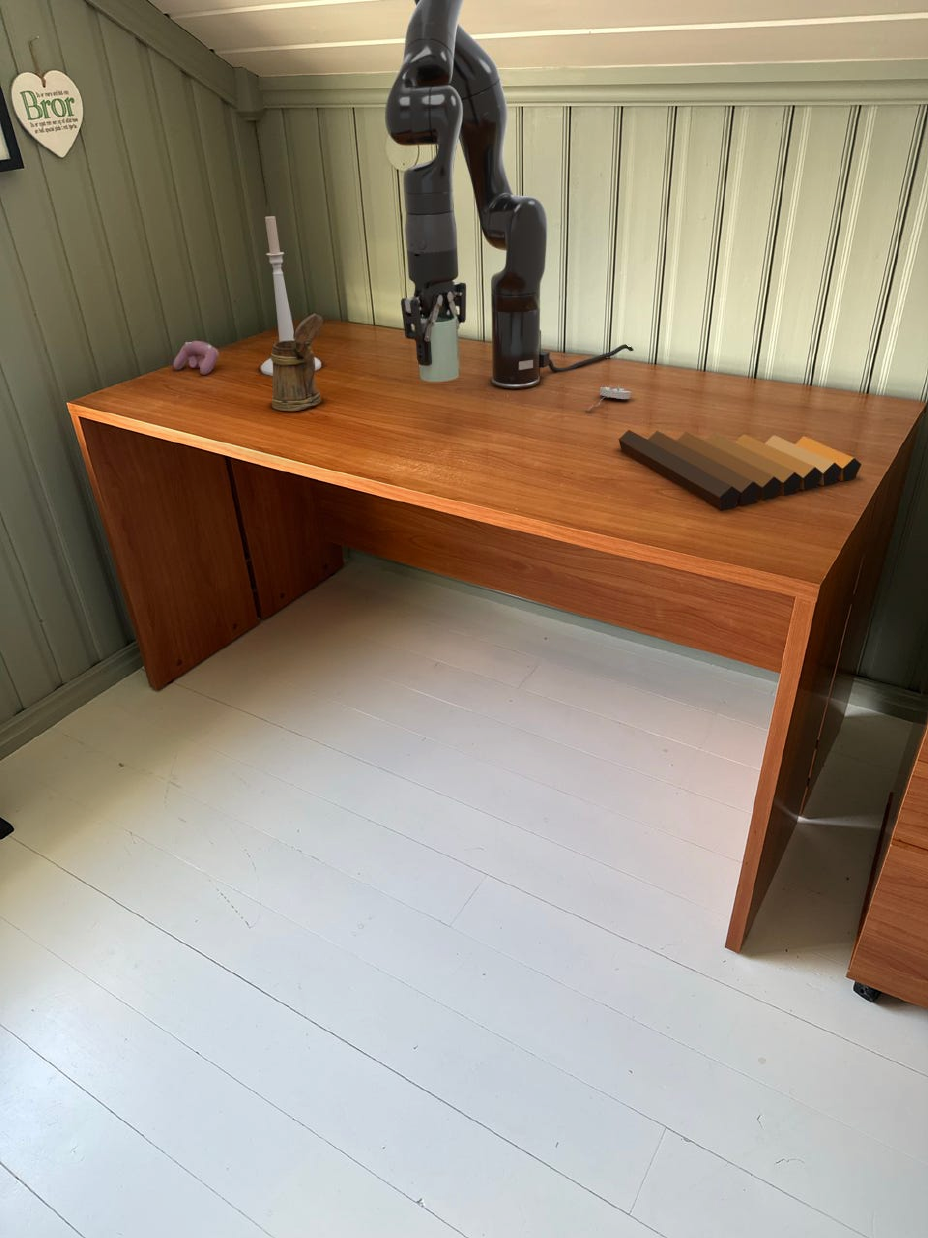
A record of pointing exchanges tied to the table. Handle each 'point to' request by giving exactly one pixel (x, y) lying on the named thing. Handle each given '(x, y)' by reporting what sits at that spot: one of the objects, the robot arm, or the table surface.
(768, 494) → the pan flute
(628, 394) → the game controller
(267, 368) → the candlestick
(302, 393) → the wooden mug
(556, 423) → the table surface
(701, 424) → the table surface
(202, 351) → the video game controller
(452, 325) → the cup
